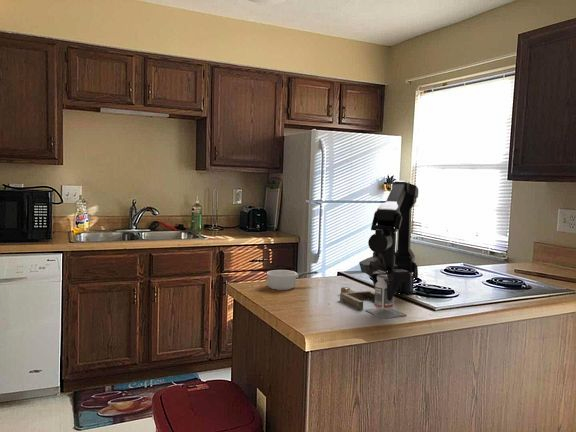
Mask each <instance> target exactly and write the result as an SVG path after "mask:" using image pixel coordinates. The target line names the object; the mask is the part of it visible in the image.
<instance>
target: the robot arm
mask: <svg viewBox="0 0 576 432" xmlns="http://www.w3.org/2000/svg"><path fill="white" fill-rule="evenodd" d="M418 198H419V188H418V186H417V185H415V184H413V183H410V182H409V181H407V180H394V181H392V185H391V190H390V191H389V194H388V195H387V199H386V201H385V202H384V203H382V204H380V205H378V208H377V209H376V210H375V211H374V214H373V217H372V222H371V227H370V230H371V231H374V232H375V233H374V234H372V235H371V236H370V237H369V239H368V243H367V244H368V247H369V249H370V251H372V256H370V257H367V258H365V259H363V260H361V261H359V262H358V265H359V267H360V271H361V273H364V274H366V275H367V276H369V277H370V279H371V280H372V283H373V287H374V289H375V284H376V283H377V282H378V280H377V275H387V277H388V279H384V281H385V282H386V283H387V297H388V300H389V301H391V300H392V298H393V299H394V296H395V295H396V294H398V293H400V294H399V295H401V294H405V295H413V293H417V292H416V291H414V281H415V280H414V279H415V278H416V279H418V278H419V269H418V268H419V267H418V265H417V261H416V259H415V258H416V257H415V254H414V253H413V250H412V249H411V244H412V243H411V238H412V236H411V235H412V209H413V208H414V206H415V205H416V203H417V199H418ZM396 243H397V244H396ZM396 245H397V246H396ZM396 248H397V250H396ZM396 292H398V293H396Z"/></svg>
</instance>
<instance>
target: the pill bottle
mask: <svg viewBox="0 0 576 432" xmlns="http://www.w3.org/2000/svg"><path fill="white" fill-rule="evenodd" d="M384 279H388V277H387V274H386V275H377V280H378V282H377V283H376V284H375V288H374V292H375V302H374V301H373V302H374V304H373V305H374V308H378V309H383V310H388V309H392V308H393V309H394V297H393V298H392V300H391V301H389V300H388V297H387V283H386V282H385V281H384Z"/></svg>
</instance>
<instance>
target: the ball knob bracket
mask: <svg viewBox="0 0 576 432" xmlns="http://www.w3.org/2000/svg"><path fill="white" fill-rule="evenodd" d="M339 300H340V302H342V303H344V304H347V306H348V305H349V306H351V308H355V309H356V310H364V301H363V300H370V301H372V302H375V291H373V290H369V289H368V290H360V291H354V290H352V289H351V287H347V286H343V287H340V293H339Z"/></svg>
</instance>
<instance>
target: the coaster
mask: <svg viewBox="0 0 576 432" xmlns="http://www.w3.org/2000/svg"><path fill="white" fill-rule="evenodd" d="M365 311H366V312H368V313H370V314H372V315H374V316H376V317H377V318H380V319H382V320H383V319H392V318H401V317H407V316H408V314H407V313H405V312H401V311H399V310H398V309H395V308H394V307H393V308H392V309H388V310H383V309H378V308H376V307H374V308H368V309H367V308H366V309H365Z"/></svg>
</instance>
